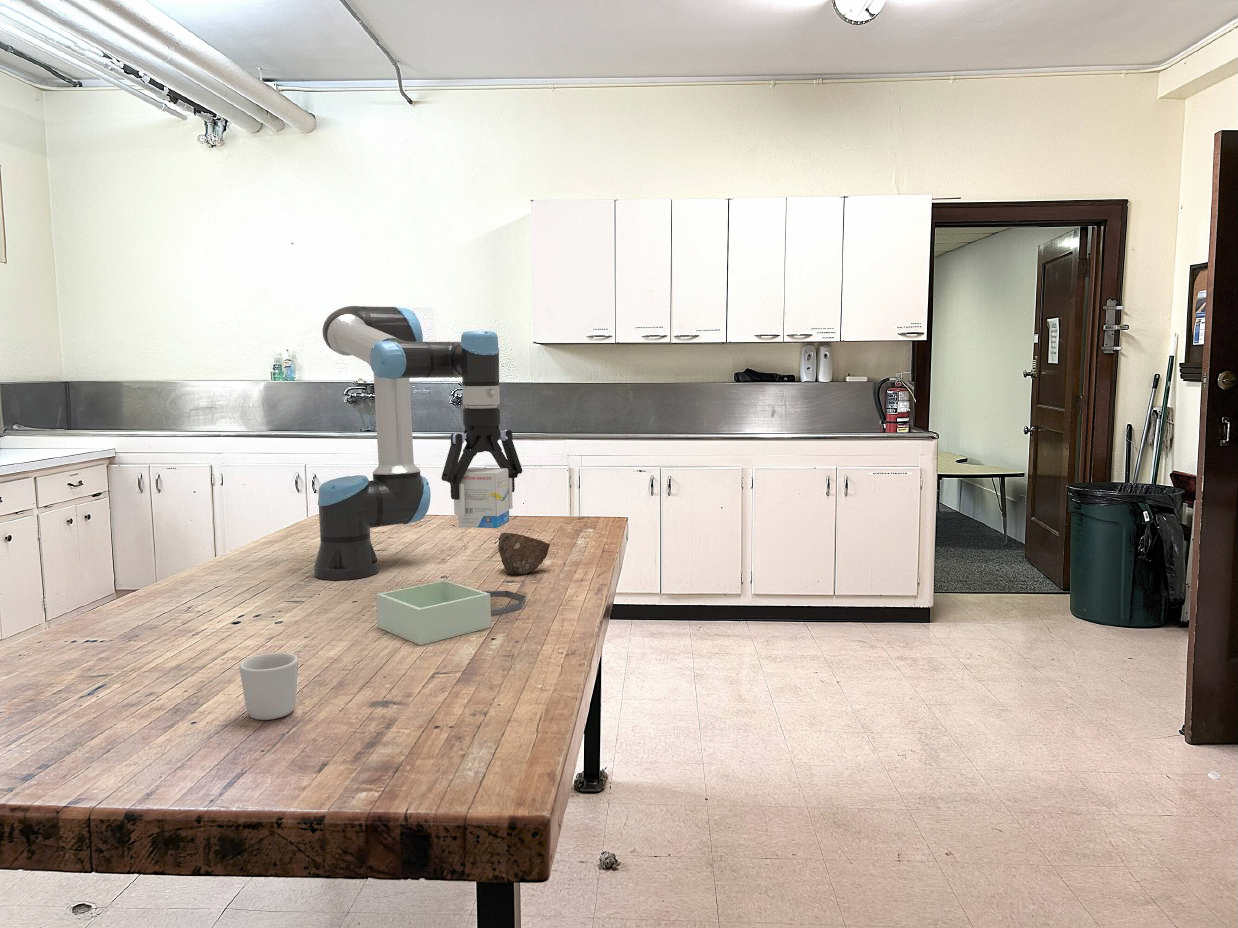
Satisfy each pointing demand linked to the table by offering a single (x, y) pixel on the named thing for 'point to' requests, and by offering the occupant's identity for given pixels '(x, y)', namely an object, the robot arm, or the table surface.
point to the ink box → (485, 498)
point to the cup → (269, 684)
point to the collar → (508, 608)
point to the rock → (521, 553)
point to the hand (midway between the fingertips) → (484, 511)
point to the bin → (433, 611)
